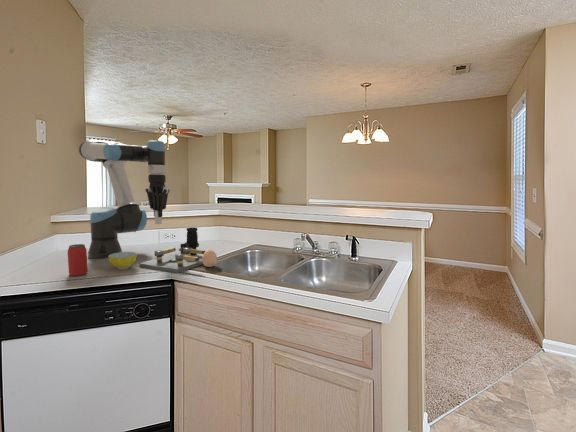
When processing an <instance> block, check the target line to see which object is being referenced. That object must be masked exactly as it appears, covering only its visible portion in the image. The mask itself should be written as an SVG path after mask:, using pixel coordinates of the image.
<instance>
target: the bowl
mask: <svg viewBox="0 0 576 432" xmlns="http://www.w3.org/2000/svg"><path fill="white" fill-rule="evenodd" d="M137 256H138V253H137V252H135V251H122V252H119V253H114V254H111V255H109V256H108V258H107V259H108V260H109V263H110V264H111V265H112V266H114V267H116V268H117V269H118V270H121V271H122V270H128V269H129V268H130V266H132V265H133V264H134V263H135V262H136V260H137V258H138V257H137Z"/></svg>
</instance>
